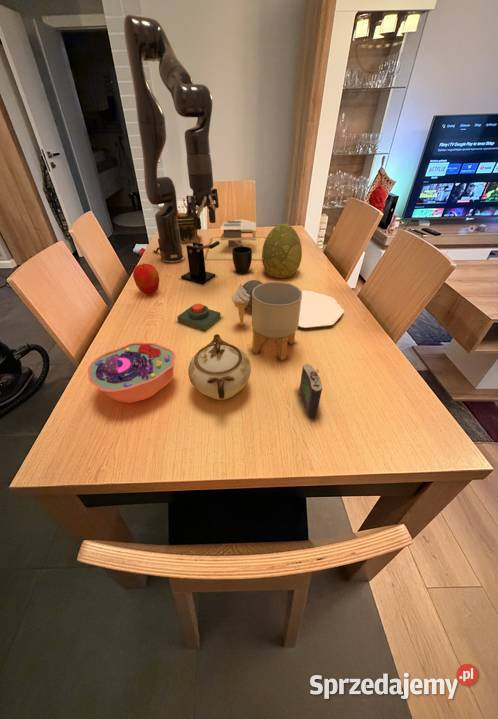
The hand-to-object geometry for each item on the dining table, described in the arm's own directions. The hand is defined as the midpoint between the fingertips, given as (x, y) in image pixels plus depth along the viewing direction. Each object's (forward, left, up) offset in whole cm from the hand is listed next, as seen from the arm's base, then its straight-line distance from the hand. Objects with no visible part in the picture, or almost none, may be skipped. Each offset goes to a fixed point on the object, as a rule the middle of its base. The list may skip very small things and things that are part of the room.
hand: (205, 225), depth 103 cm
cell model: (+16, -54, -23) cm, 61 cm away
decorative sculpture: (+18, +26, -23) cm, 39 cm away
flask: (+55, -38, -23) cm, 71 cm away
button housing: (+10, -21, -23) cm, 33 cm away
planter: (+38, -22, -23) cm, 50 cm away
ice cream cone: (+24, -17, -23) cm, 38 cm away
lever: (-5, +5, -11) cm, 13 cm away
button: (+10, -21, -20) cm, 31 cm away
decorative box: (-44, +37, -23) cm, 62 cm away
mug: (+2, +21, -23) cm, 31 cm away
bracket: (-10, +5, -23) cm, 26 cm away
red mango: (-18, -15, -23) cm, 33 cm away
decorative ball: (+22, -5, -23) cm, 33 cm away
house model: (-13, +43, -23) cm, 50 cm away
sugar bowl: (+34, -44, -23) cm, 61 cm away
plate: (+39, +2, -23) cm, 46 cm away
